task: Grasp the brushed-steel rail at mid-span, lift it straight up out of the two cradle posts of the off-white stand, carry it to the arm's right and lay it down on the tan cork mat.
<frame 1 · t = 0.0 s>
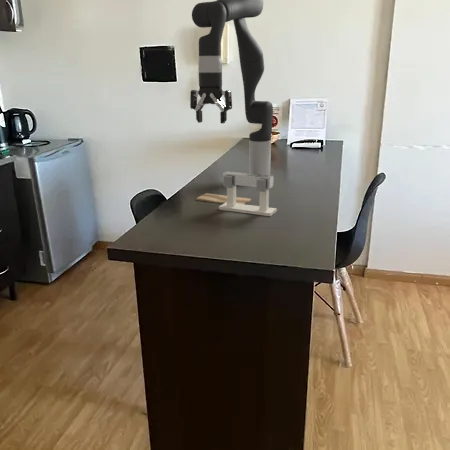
hand: (211, 122, 150), 29 cm above the table, fingers open, 8 cm apart
rail: (247, 184, 152), point 9 cm above the table, touching rail stand
rail stand: (247, 210, 155), on the table
mat: (223, 200, 167), on the table
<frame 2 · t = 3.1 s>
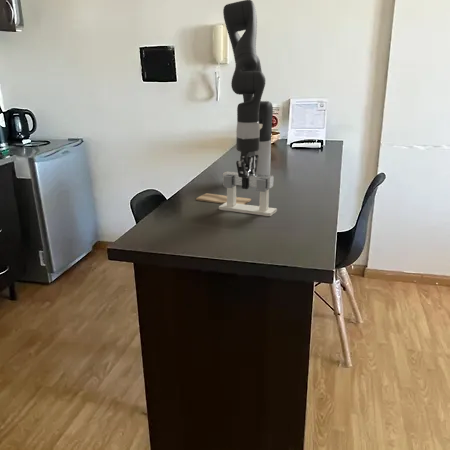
hand: (247, 187, 152), 8 cm above the table, fingers closed on rail, 3 cm apart
rail: (247, 184, 152), point 9 cm above the table, touching gripper, rail stand
when the fingers open (1 cm above the table, at t = 9.3 s): rail drops 2 cm, resting on mat.
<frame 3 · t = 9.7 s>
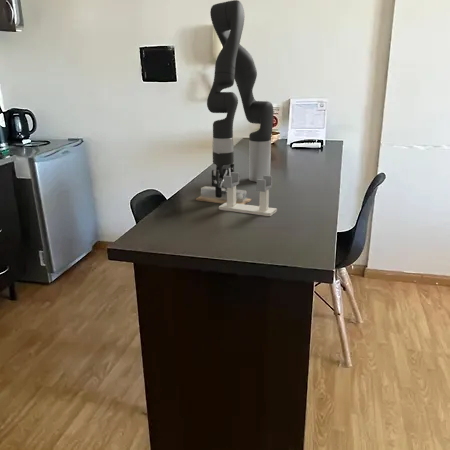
hand: (223, 194, 167), 2 cm above the table, fingers open, 7 cm apart
rail: (223, 198, 167), point 1 cm above the table, touching mat
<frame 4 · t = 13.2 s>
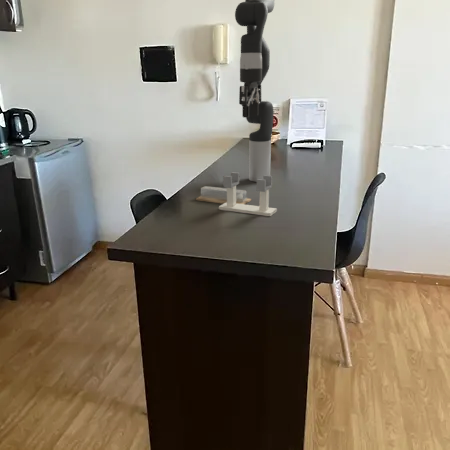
hand: (250, 116, 159), 30 cm above the table, fingers open, 8 cm apart
nothing on the table moved.
at the end: rail inside the target area on the mat (0.1 cm from its centre), point 0.6 cm above the mat's base; rail tilted 0°; the gripper is holding nothing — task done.
